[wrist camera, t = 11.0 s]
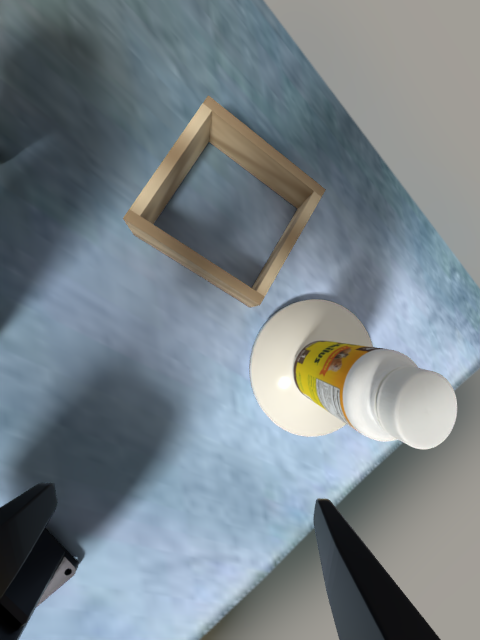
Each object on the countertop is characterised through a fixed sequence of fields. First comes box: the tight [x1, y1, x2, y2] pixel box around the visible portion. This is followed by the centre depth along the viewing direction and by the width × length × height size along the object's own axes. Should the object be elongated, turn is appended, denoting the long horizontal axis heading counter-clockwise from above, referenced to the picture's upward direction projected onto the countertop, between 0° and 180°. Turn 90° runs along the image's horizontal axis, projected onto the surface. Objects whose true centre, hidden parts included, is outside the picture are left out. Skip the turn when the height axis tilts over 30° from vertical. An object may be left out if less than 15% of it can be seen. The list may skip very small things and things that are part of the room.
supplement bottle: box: [292, 341, 457, 449], centre depth 16 cm, size 6×6×10 cm
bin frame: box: [123, 96, 326, 307], centre depth 19 cm, size 12×12×3 cm
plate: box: [249, 299, 373, 437], centre depth 21 cm, size 13×13×1 cm
